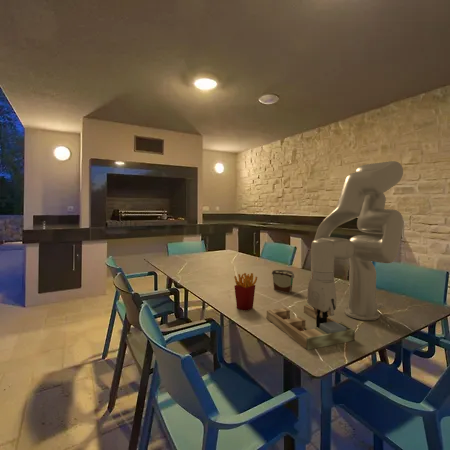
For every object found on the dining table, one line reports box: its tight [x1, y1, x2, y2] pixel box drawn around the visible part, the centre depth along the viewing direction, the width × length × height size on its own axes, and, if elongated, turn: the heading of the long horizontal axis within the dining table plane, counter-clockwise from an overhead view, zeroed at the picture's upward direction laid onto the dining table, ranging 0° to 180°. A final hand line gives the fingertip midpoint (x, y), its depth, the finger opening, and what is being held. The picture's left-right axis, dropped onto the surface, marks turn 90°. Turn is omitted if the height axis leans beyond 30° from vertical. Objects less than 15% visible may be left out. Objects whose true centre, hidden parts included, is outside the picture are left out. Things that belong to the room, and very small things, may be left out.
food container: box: [271, 269, 295, 294], centre depth 145 cm, size 12×6×10 cm, turn 47°
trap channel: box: [266, 304, 356, 351], centre depth 100 cm, size 18×26×4 cm
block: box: [320, 320, 346, 334], centre depth 92 cm, size 6×6×4 cm
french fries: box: [233, 272, 258, 312], centre depth 121 cm, size 9×8×15 cm
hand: (321, 327), depth 99 cm, fingers closed
